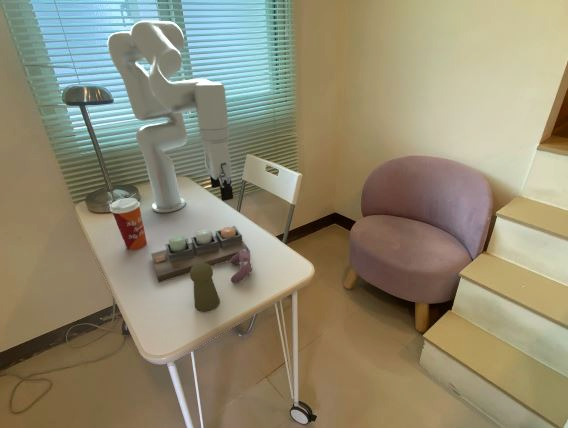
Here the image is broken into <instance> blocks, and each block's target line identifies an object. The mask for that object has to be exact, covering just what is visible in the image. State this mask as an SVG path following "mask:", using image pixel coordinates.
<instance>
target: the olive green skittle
mask: <svg viewBox="0 0 568 428" xmlns="http://www.w3.org/2000/svg"><path fill="white" fill-rule="evenodd" d="M212 267H213V266H210V265H209V264H207V263H198V264H196V265H194V266H193V267H192V268H191V270H190V273H189V278H190V280H191V281H192V282H193V299H194V308H195V310H196V311H198V313H199V312H200V313H210V312H212V311H214V310H216V309H217V308H218V306H220V303H221V301H220V296H219V294H218V291H217V288H216V286H215V283H214V280H213V275H214V269H213V268H212Z"/></svg>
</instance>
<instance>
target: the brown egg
mask: <svg viewBox="0 0 568 428" xmlns="http://www.w3.org/2000/svg"><path fill="white" fill-rule="evenodd" d="M220 230H221V237H222V239H226V238H230V237H233V236H236V232H235V228H233V226H227V227H224V228H222V229H220Z"/></svg>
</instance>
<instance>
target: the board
mask: <svg viewBox="0 0 568 428" xmlns="http://www.w3.org/2000/svg"><path fill="white" fill-rule="evenodd" d="M232 227H233V228H235V232H236V236H233V237H230V238H226V239H222V237H221V230H222V229H219V230H215V231H214V233H215V235H214V234H213V232H211V237H212V242H211V243H209V244H205V245H198V244H197V241H196V236H193V237H191V238H190V239H191V242H190V241H189V240H188V238H185V241H186V246H187V248H186V249H185V250H184V251H180V252H177V253H174V252H172V251H171V248H170V244H169V243H167V244H165V249H163V250H160V251H156V252H152V253H151V254H150V255H151V259H152V262H153V267H154V271H155V274H156V280H157V282H158V284H159V283H162V282H164V281H167V280H171V279H174V278H177V277H180V276H184V275H188V274H190V270H191V268H192V267H193V266H194V265H196V264H198V263H207V264H209V265H210V266H211V267H213V266H217V265H219V264H223V263H226V262H229V261H230V260H231V258H232V257H233V256H235V255H236V254H237V253H238V252H239V251H240V250H242V249H243V250H245V249H246V250H249V251H250V249H249V247H248V245H247V244H246V243H245V242H244V240H243V236H242V234H241V232H240V231H239V230H238V229H237V227H236V226H234V225H232Z"/></svg>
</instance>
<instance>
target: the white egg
mask: <svg viewBox="0 0 568 428" xmlns="http://www.w3.org/2000/svg"><path fill="white" fill-rule="evenodd" d="M194 233H195V234H194V235H195V237H196V241H197V244H198V245H205V244H209V243H211V242H212V237H211V230H210V229H208V228H201V229H198V230H196V231H195V232H194Z"/></svg>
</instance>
